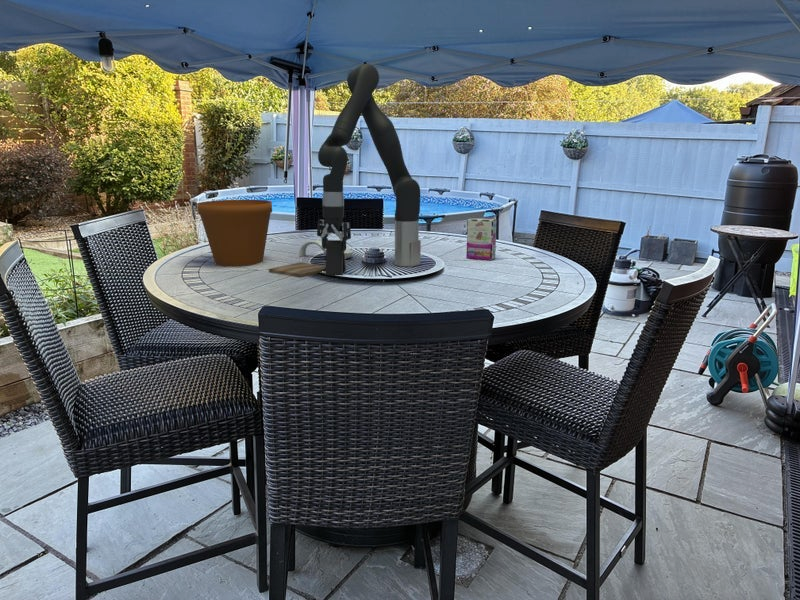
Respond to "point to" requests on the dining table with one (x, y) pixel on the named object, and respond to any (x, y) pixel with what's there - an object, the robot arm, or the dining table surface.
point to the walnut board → (298, 269)
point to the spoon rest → (303, 249)
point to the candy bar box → (481, 239)
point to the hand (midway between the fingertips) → (333, 249)
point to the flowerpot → (236, 230)
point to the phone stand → (334, 258)
